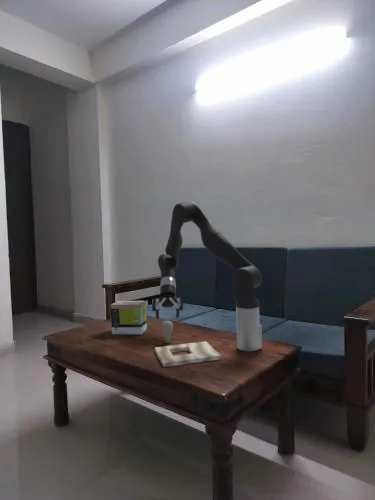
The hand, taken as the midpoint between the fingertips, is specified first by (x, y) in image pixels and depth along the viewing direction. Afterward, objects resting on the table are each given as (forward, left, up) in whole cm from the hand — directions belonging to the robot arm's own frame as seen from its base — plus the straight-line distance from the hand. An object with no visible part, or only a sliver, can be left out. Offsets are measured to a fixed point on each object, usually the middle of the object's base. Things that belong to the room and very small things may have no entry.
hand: (167, 317), depth 160 cm
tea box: (+15, -19, -10) cm, 27 cm away
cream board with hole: (-3, +22, -10) cm, 24 cm away
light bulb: (+1, +5, -10) cm, 11 cm away
